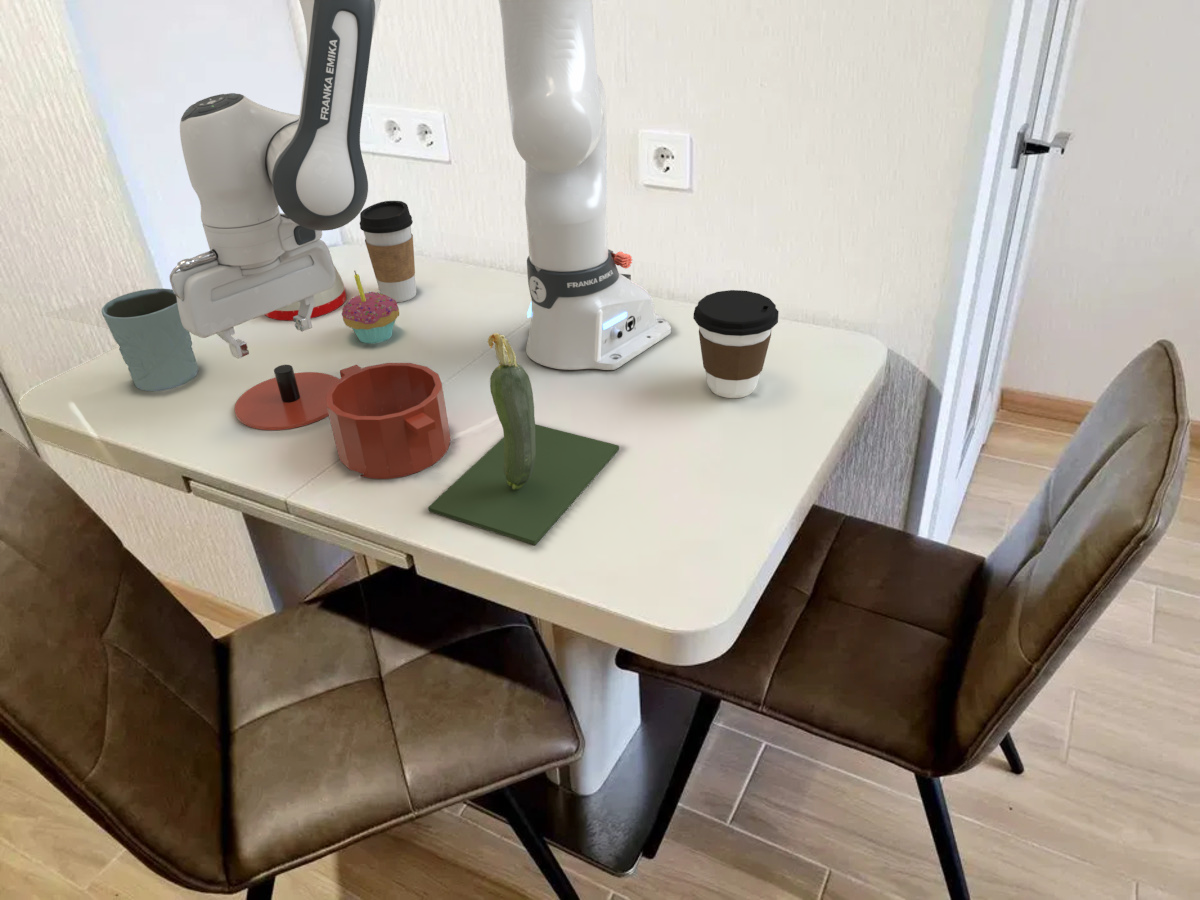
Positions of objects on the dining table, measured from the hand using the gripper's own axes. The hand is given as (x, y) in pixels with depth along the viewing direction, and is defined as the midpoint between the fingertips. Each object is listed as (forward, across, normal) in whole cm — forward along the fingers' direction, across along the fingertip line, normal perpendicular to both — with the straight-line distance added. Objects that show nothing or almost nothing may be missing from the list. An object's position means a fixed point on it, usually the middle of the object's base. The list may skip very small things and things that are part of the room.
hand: (273, 341), depth 114 cm
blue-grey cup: (+10, -6, +21) cm, 24 cm away
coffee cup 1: (+10, +33, +16) cm, 38 cm away
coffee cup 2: (+9, +39, -46) cm, 61 cm away
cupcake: (+10, +20, +6) cm, 23 cm away
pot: (+9, +2, -20) cm, 22 cm away
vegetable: (+9, +4, -40) cm, 41 cm away
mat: (+9, +7, -38) cm, 40 cm away
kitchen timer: (+10, +21, +27) cm, 36 cm away
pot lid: (+9, 0, 0) cm, 9 cm away
